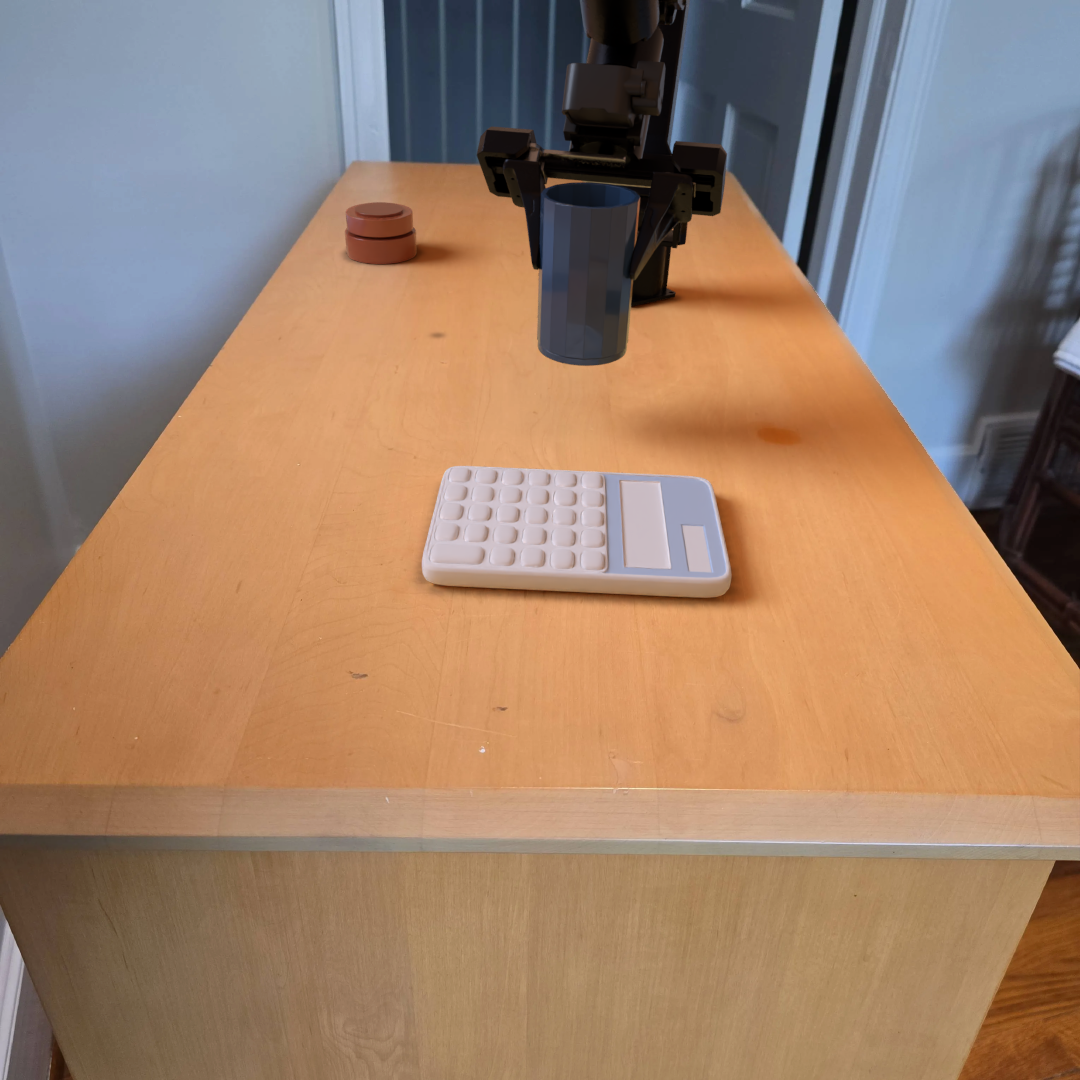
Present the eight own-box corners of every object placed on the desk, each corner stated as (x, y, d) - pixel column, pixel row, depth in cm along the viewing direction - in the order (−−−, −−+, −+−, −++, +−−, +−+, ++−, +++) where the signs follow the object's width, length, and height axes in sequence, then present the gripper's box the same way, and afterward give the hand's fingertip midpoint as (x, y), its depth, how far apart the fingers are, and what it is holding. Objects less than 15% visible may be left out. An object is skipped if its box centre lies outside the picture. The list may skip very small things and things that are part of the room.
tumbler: (592, 324, 80) (601, 178, 73) (644, 354, 75) (659, 200, 68) (520, 340, 76) (523, 188, 70) (570, 373, 71) (578, 212, 65)
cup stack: (398, 239, 121) (395, 196, 118) (428, 257, 115) (427, 212, 112) (335, 248, 117) (331, 204, 114) (364, 268, 111) (360, 222, 108)
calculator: (445, 481, 71) (444, 459, 70) (709, 493, 70) (712, 471, 69) (419, 587, 60) (417, 563, 59) (732, 602, 59) (736, 578, 58)
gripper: (482, 6, 67) (438, 203, 64) (745, 20, 64) (709, 228, 61) (510, 106, 78) (473, 278, 75) (735, 123, 75) (705, 303, 72)
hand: (582, 272), depth 71 cm, fingers closed on tumbler, 7 cm apart
